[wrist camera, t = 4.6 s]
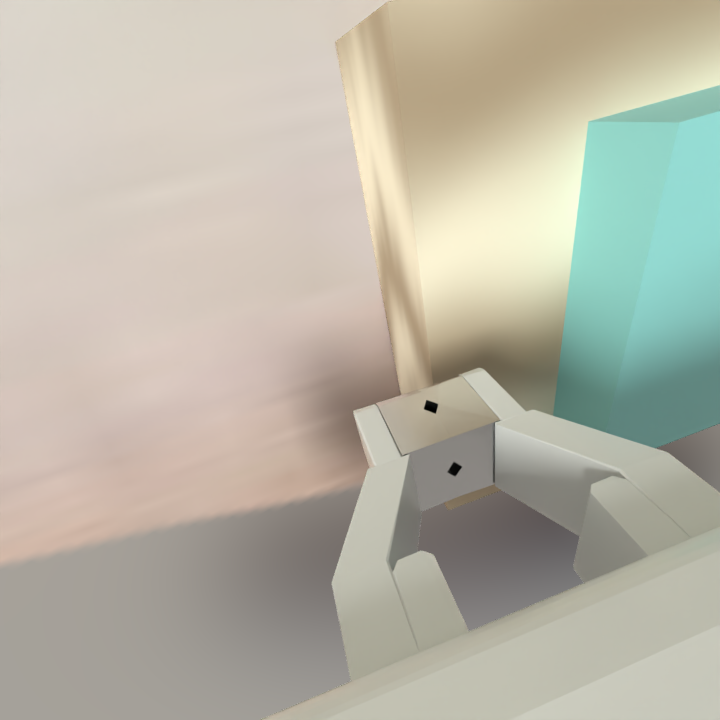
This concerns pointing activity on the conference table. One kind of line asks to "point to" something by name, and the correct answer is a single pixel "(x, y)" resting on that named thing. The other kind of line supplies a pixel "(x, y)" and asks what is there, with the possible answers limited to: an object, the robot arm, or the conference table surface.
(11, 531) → the conference table surface
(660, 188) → the turquoise rectangular block
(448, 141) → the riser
